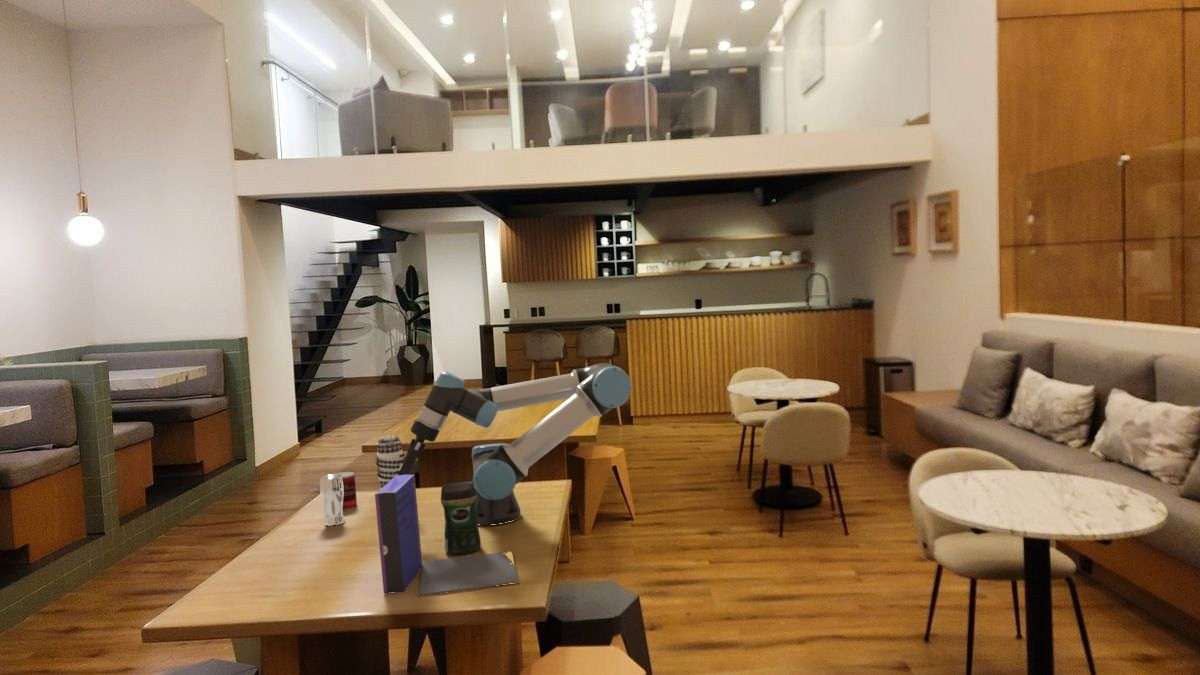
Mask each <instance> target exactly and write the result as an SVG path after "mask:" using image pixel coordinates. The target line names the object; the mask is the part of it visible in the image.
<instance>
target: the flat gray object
mask: <svg viewBox="0 0 1200 675" xmlns="http://www.w3.org/2000/svg"><path fill="white" fill-rule="evenodd" d="M504 552H506V551H499V552H492V553H483V554H476V555H467V556H466V555H465V556H460V557H459V556H458V557H451V558H442V559H441V558H440V559H434V560H427V561H423V562H422V570H421V577H420V581H419V590H418V593H417V594H418V597H419V596H421V597H427V596H426V595H429V596H434V595H433V594H437V595H441V594H440V593H444V594H447V593H446V592H452V593H455V592H454V591H460V592H463V591H462V590H467V591H472V590H471V589H475V590H480V589H479V588H483V589H485V588H484V587H490V588H492V587H491V586H496V585H503V584H509V583H516V582H518V583H519V578H518V573H517V567H516V565H515V566H514V565H513V563H512V561H511V560H510V559H508V557H507V556H506V555H505V554H506V553H507V552H506V553H505V554H503V553H504ZM515 562H516V561H515ZM515 562H514V563H515ZM510 563H512V564H510ZM515 564H516V563H515Z"/></svg>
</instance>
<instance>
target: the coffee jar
mask: <svg viewBox="0 0 1200 675" xmlns="http://www.w3.org/2000/svg"><path fill="white" fill-rule="evenodd" d="M440 492H441V494H440V503H441V506H442V507H443V513H444V550H445V553H446V554H449V555H450V556H454V555H455V556H456V554H458V555H464V553H465V554H469V553H473V552H475V553H476V552H477V551H478V550H479V549H481V546H482V541H481V537H480V536H481V535H480V531H479V525H477V519H476V512H475V502H476V498H477V496H476V491H475V486H474V484H473V480H472V481H471V480H470V481H469V480H468V481H460V482H454V483H452V482H451V483H446V484H445V483H444V484H443V485H442V486H441V491H440Z"/></svg>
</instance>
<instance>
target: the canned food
mask: <svg viewBox="0 0 1200 675" xmlns="http://www.w3.org/2000/svg"><path fill="white" fill-rule="evenodd" d="M335 474H341V475H342V480H343V487H344V498H343V510H346V509H345V508H347V509H351V508H354V507H356V506H357V502H358V501H357V489H356V477H355V472H352V471H343V472H336V473H335ZM353 506H354V507H353ZM350 507H351V508H350Z"/></svg>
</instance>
